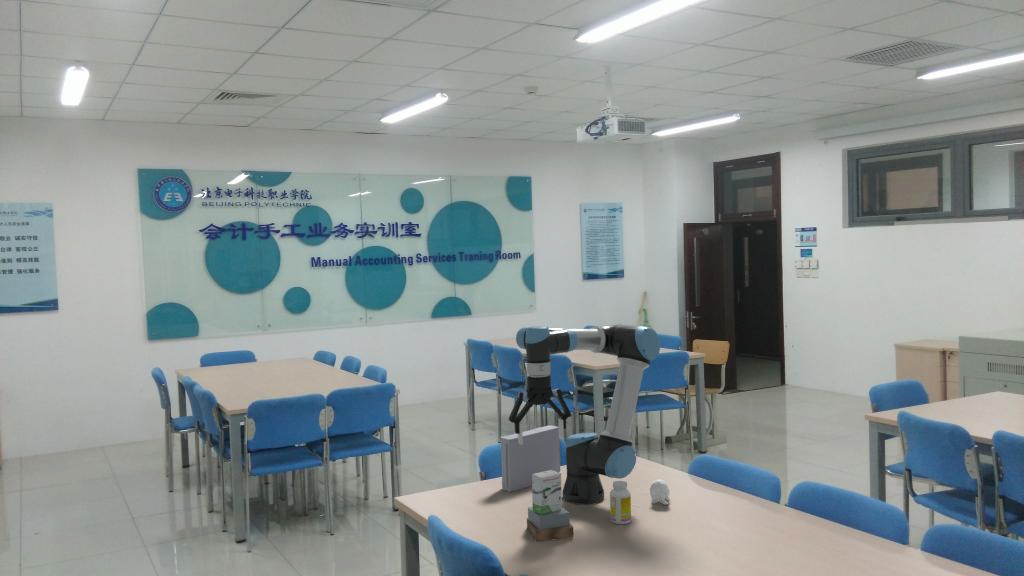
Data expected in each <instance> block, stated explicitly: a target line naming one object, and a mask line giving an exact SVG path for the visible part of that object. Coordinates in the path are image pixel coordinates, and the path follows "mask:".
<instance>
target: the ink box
mask: <svg viewBox="0 0 1024 576" xmlns="http://www.w3.org/2000/svg"><path fill="white" fill-rule="evenodd" d="M531 489H532V490H531V494H532V495H531V496H532V500H531V501H532V507H533V512H536V513H539V514H541V515H543V514H546V513H550V512H554V511H558V510H561V509H562V508H563V505H562V504H563V503H562V502H563V501H562V499H563V495H562V473H560V472H559V473H558V472H556V471H553V470H549V471H544V472H540V473H535V474H533V475H532V485H531Z"/></svg>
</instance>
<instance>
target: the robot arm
mask: <svg viewBox="0 0 1024 576" xmlns="http://www.w3.org/2000/svg"><path fill="white" fill-rule="evenodd" d="M515 342H516V345H517V347H519V348H520V349H522V350H525V352H526V353H525V355H526V374H527V375H528V376H526V377H527V378H526V382H527V383H526V387H527V391H526V392H525V391H521V390H519V391H518V392H517V398H516V401H515V403H514V405H513V407H512V409H511V412H510V414H509V416H508V421H509V422H510V423H513V424H514V432H515V433H514V434H518V443H519V444H520V445H522V444H523V436H522V432H523V423H521V422H522V421H523V419H524V417H525V416H526V415H527V413H528V412H529V410H530V409H531V408H532V407H533V406H540V405H546V404H548V405H549V407H550V408H552V409H553V411H554V412H555V413H556V414H557V415H558V416H559V417H560V418H557V421H558V425H557V427H559V439H560V441H565V443H566V444H565V458H566V459H565V461H566V478H565V481H564V485H563V488H562V491H561V493H562V499H563V500H564V501H566V502H568V503H572V504H577V505H585V504H587V505H588V504H589V505H591V504H596V503H599V502H602V501H603V500H605V490H604V489H605V488H604V487H603V484H602V481H601V478H600V475H601V476H605V477H608V478H611V479H619V480H620V479H625V478H627V477H628V475H630V474H631V473H632V472H633V471H634V469H635V467H636V462H637V453H636V450H635V448H633V440H632V438H631V436H630V435H631V430H632V426H633V423H634V422H633V421H634V416H635V413H636V408H637V404H638V403H637V402H638V399H639V393H640V389H641V384H642V380H643V376H644V371H645V370H646V369H647V368H649V367H650V363H651V361H653V360H655V359H656V358H657V357H658V356H659V354H660V349H661V342H660V337H659V334H658V333H657V332H656V330H655V329H654V328H652V327H649V326H645V325H644V326H643V325H629V324H627V325H626V324H610V325H603V326H602V325H599V326H597V325H596V326H591V327H590V328H564V327H563V328H559V327H558V328H555V327H551V328H550V327H548V326H545V325H537V326H536V325H535V326H534V325H533V326H527V327H522V328H520V329H519V330H518V331H517V332H516V335H515ZM573 351H590V352H591V353H595V354H596V353H597V354H598V353H599V354H605V355H609V356H615V357H617V358H616V360H617V361H618V363H619V367H618V372H617V375H616V376H617V377H616V381H615V385H614V386H615V387H614V391H613V393H612V399H611V403H610V408H609V411H608V416H607V421H606V426H605V429H604V431H602V432H601V433H600V434H598V433H597V432H581V433H580V432H579V433H576V434H570V435H569V436H568V437H567V438H566V440H565V438H564V436H565V433H564V431H565V430H566V429H567V420H568V418H571V417H572V415H573V414H572V413H571V411H570V409H569V407H568V405H567V403H566V401H565V399H564V398H563V395H562V390H561V389H560V388H557V387H556V388H555V389H552V379H551V378H552V377H551V375H550V374H551V356H552V355H556V354H564V353H565V354H566V353H569V352H573ZM553 395H554V396H555V397H556V399H557V401H558V403H559V405H560V406H561V408H562V410H563V412H564V413H563V412H562V410H561V409H560V408H559V407H558V406H557V404H555V403H554V401H553V400H552V399H551V397H552V396H553ZM526 397H527V398H528V399H527V401H526V402H525V404H524V406H523V407H522V409H520V408H521V406H522V404H523V402H524V399H526Z"/></svg>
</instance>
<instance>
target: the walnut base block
mask: <svg viewBox="0 0 1024 576" xmlns="http://www.w3.org/2000/svg"><path fill="white" fill-rule="evenodd" d="M569 524H570V525H567V526H561V527H555V528H548V529H542V530H540V529H538V528H537V527H536V526H535V525H534V524H533V523H532V522H530V521H529V520H528V517H527V518H526V528H527V531H528V532H529V533H530V535H531V536H532V538H533V539H534V541H535V540H536V541H535V542H545V541H544V540H547V541H553V540H552V539H557V540H562V539H561V538H566V539H572V538H571V537H574V536H575V535H574V526H573V525H572V524H571V523H570V522H569Z"/></svg>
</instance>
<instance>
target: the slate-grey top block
mask: <svg viewBox="0 0 1024 576" xmlns="http://www.w3.org/2000/svg"><path fill="white" fill-rule="evenodd" d="M527 518H528V520H529V521H530V522H532V523H533V524H534V525H535V526H536V527H537V528H538V529H540V530H542V529H548V528H555V527H561V526H567V525H570V524H571V523H570V512H569V511H568V510H567V509H565V508H564V507H562V509H561V510H558V511H554V512H550V513H546V514H543V515H541V514H539V513H536V512H533V506H529V507H527ZM569 523H570V524H569Z"/></svg>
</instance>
